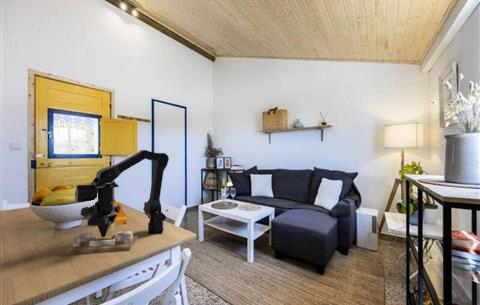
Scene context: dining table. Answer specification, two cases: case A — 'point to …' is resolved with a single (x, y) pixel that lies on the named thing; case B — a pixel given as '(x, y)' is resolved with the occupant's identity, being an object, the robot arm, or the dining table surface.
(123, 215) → the bracket
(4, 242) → the dining table surface
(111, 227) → the tan rectangular block
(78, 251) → the coupling base
